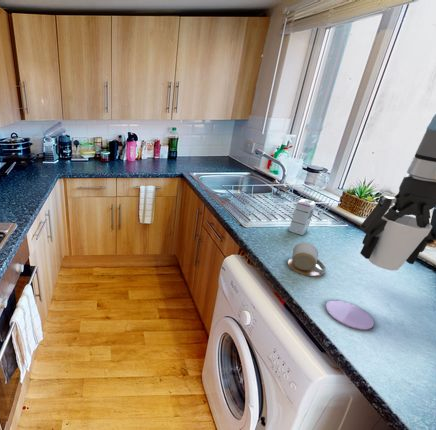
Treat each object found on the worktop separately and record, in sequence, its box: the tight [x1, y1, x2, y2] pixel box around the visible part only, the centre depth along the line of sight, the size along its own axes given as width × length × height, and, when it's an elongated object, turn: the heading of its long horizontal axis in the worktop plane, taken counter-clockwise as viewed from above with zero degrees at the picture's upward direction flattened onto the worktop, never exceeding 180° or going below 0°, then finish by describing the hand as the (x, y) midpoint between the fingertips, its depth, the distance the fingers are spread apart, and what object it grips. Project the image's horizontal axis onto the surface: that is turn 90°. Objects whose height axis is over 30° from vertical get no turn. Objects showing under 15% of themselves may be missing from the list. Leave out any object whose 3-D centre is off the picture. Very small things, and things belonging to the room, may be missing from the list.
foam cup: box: [368, 211, 432, 271], centre depth 74 cm, size 10×9×13 cm
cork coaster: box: [287, 258, 324, 278], centre depth 103 cm, size 11×11×1 cm
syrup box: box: [288, 198, 317, 236], centre depth 125 cm, size 6×6×14 cm
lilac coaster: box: [325, 300, 375, 331], centre depth 82 cm, size 11×11×1 cm
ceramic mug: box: [291, 242, 327, 274], centre depth 101 cm, size 11×8×8 cm
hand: (385, 258), depth 76 cm, fingers closed on foam cup, 9 cm apart
